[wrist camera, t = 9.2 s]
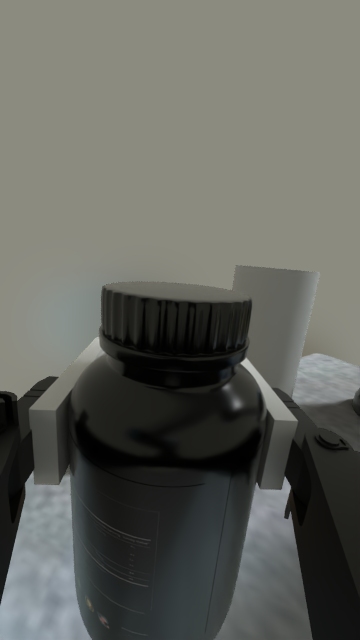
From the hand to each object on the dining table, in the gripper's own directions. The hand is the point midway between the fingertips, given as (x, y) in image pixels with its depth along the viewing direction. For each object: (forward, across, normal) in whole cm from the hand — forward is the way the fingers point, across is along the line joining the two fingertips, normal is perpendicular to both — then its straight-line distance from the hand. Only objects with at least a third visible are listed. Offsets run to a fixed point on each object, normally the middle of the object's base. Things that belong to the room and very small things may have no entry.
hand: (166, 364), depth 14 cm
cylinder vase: (+25, +17, -19) cm, 35 cm away
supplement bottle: (-5, 0, -7) cm, 9 cm away
